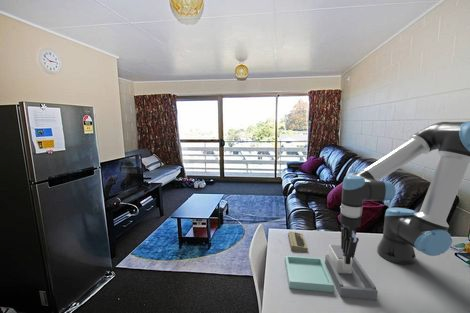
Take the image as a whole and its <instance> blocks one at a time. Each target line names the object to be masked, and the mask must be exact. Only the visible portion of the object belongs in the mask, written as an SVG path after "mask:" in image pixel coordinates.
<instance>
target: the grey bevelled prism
mask: <svg viewBox="0 0 470 313" xmlns="http://www.w3.org/2000/svg"><path fill="white" fill-rule="evenodd" d="M343 254H344V253H343V249H341V244H340V245H338V244H329V245H328V254H327V255H329V257H330V259H331V261H332V263H333V265H334V267H335V269H336V271H337V273H338V274H351V275H352V270H353V267H352V261H353V260H352V258H351V264H350V271H346V270H343V269H342V260H343Z"/></svg>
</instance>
